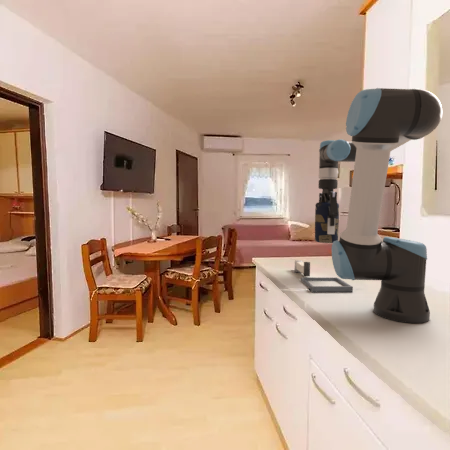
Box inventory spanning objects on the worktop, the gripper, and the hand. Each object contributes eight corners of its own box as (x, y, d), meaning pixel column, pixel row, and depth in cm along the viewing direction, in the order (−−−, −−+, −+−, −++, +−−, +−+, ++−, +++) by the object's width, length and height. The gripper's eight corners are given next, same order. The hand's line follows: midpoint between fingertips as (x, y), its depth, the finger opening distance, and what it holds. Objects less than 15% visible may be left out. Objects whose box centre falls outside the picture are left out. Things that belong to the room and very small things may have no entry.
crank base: (306, 275, 152) (306, 273, 152) (293, 275, 151) (293, 273, 151) (302, 272, 158) (302, 270, 158) (290, 272, 157) (290, 270, 157)
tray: (352, 292, 124) (352, 286, 124) (311, 292, 123) (312, 286, 123) (337, 282, 139) (337, 277, 138) (300, 282, 138) (300, 277, 137)
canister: (339, 244, 132) (341, 199, 131) (314, 243, 134) (316, 199, 133) (336, 242, 141) (337, 200, 140) (313, 241, 143) (314, 200, 142)
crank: (293, 270, 156) (294, 256, 156) (301, 270, 156) (301, 256, 156) (303, 278, 141) (303, 262, 140) (311, 278, 141) (312, 262, 140)
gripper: (348, 177, 125) (346, 235, 126) (327, 181, 147) (325, 231, 149) (329, 176, 125) (327, 235, 126) (310, 181, 147) (309, 231, 148)
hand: (326, 233), depth 137 cm, fingers closed on canister, 9 cm apart
